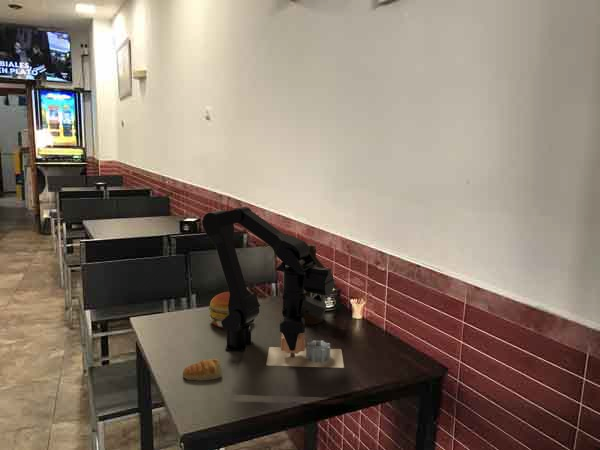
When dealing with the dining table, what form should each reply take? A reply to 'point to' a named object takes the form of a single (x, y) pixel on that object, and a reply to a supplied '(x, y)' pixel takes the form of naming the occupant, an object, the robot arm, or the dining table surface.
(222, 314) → the burger
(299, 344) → the gear
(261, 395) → the dining table surface
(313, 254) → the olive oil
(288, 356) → the gear board
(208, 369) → the pastry
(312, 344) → the gear
